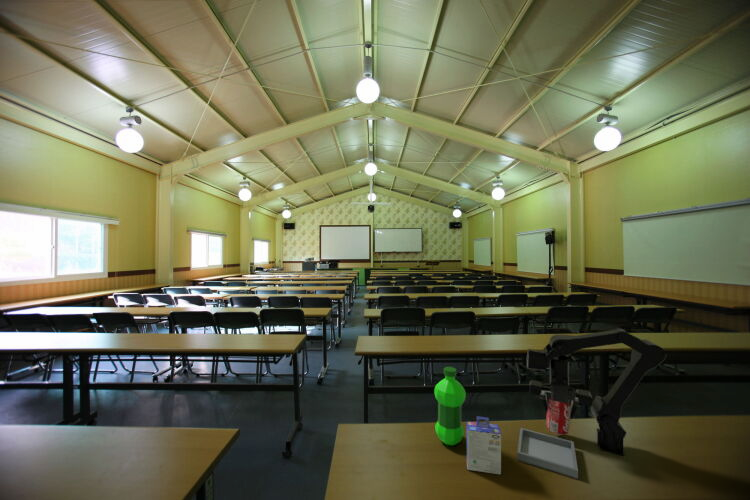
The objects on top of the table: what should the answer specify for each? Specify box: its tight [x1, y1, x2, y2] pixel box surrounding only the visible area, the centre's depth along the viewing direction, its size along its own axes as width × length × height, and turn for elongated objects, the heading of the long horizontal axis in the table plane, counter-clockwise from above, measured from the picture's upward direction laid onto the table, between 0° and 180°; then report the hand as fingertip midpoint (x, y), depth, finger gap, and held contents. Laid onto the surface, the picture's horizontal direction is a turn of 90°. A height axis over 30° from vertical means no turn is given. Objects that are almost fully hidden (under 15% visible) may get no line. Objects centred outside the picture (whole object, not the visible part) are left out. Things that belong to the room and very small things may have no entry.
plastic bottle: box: [433, 366, 467, 446], centre depth 105 cm, size 10×10×25 cm
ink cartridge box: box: [466, 415, 502, 475], centre depth 93 cm, size 10×6×14 cm, turn 78°
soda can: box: [545, 393, 571, 436], centre depth 107 cm, size 7×7×12 cm
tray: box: [516, 427, 579, 480], centre depth 98 cm, size 16×15×2 cm
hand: (558, 416), depth 107 cm, fingers closed on soda can, 7 cm apart
